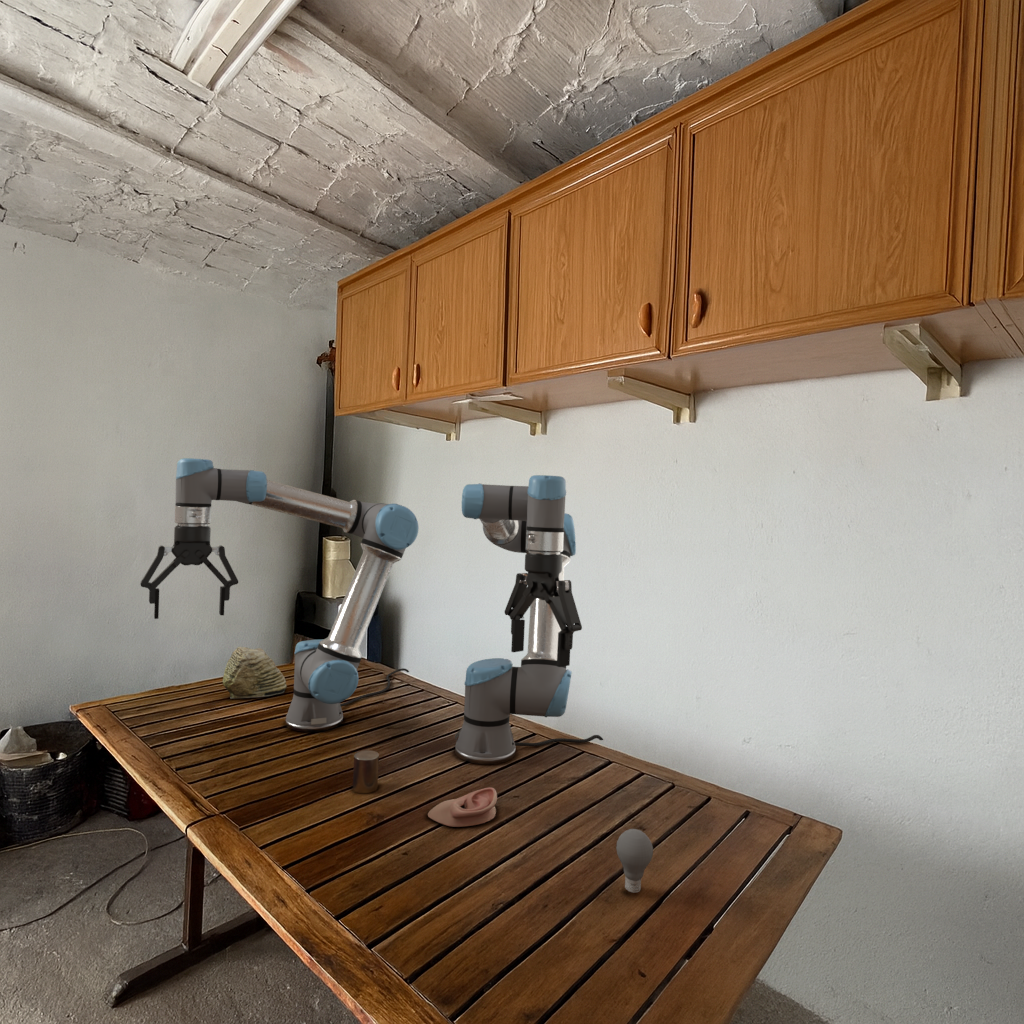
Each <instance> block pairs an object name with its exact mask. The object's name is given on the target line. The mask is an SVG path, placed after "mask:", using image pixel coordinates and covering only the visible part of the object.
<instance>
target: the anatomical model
mask: <svg viewBox="0 0 1024 1024" xmlns="http://www.w3.org/2000/svg"><path fill="white" fill-rule="evenodd" d="M497 800H498V793H497V790H496V789H495V788H494V787H485V788H480V789H477V790H473V791H472V792H469V793H467V794H465V795H463V796H460V797H458V798H454V799H447V800H444V801H442V802H440V803H438V804H437V805H435V806H434V807H432V808H431V809H430V810H429V811H428V813H427V816H428V818H429V819H430V820H432V821H435V822H437V823H439V824H441V825H443V826H447V827H450V828H453V827H454V828H460V827H462V828H463V827H471V826H476V825H482V824H485V823H487V822H489V821H491V820H493V819H494V818H495V817H496V814H497V809H496V804H497Z"/></svg>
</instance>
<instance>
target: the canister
mask: <svg viewBox="0 0 1024 1024" xmlns="http://www.w3.org/2000/svg"><path fill="white" fill-rule="evenodd" d="M379 761H380V753H378V752H377V751H376V750H371V749H369V750H368V749H365V750H360V751H357V752H356V753H354V755H353V775H352V777H353V778H352V791H354V792H356V793H358V794H371V793H372V792H375V791H377V789H378V787H379V786H378V785H379V763H380V762H379Z"/></svg>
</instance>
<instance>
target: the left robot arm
mask: <svg viewBox="0 0 1024 1024" xmlns="http://www.w3.org/2000/svg"><path fill="white" fill-rule="evenodd" d="M175 474H176V475H175V503H174V504H175V506H174V523H175V524H177V525H175V526H174V532H173V533H174V534H173V545H172V546H165V545H162V544H161V545H159V546H158V548H157V553H156V556H155V558H154V559H153V561H152V563H151V564H150V566H149V567H148V569H147V571H146V572H145V574H144V576H143V577H142V579H141V581H140V587H141V588H145V589H148V590H149V591H148V602H149V604H150V605H151V604H152V605H153V604H154V607H153V608H154V609H153V611H154V613H153V617H154V620H158V619H159V616H160V615H159V614H160V613H159V612H160V588H159V587H158V586H160V584H161V583H162V582H163V581H165V580H166V578H168V576H169V575H170V574H171V573H172V572H173V571H175V569H176V568H177V567H179V566H180V564H181V565H183V566H191V565H192V566H201V565H202V564H204V565H205V567H207V568H208V569H209V571H211V573H212V574H213V575H214V576H215V577H216V579H217V580H218V581H220V582H221V584H222V585H221V586H219V605H218V606H219V608H218V609H219V610H218V614H219V615H220V616H225V603H226V602H227V601H230V596H231V588H232V586H235V585H238V584H239V579H238V577H237V576H236V573H235V571H234V570H233V567H232V566H231V564H230V562H229V560H228V558H227V556H226V548H225V546H223V545H221V544H220V545H218V546H211V545H212V544H211V530H212V529H211V527H210V526H209V525H210V524H211V523H212V520H211V519H212V501H227V502H228V501H229V502H237V503H242V504H246V505H250V506H254V507H258V508H263V509H265V510H271V511H274V512H278V513H282V514H286V515H290V516H294V517H298V518H302V519H305V520H309V521H313V522H317V523H321V524H325V525H328V526H333V527H337V528H341V529H342V530H343V532H344V533H345V534H349V535H354V536H356V537H358V538H361V542H360V547H361V549H362V554H361V556H360V559H359V561H358V563H357V566H356V569H355V571H354V574H353V576H352V578H351V581H350V582H349V585H348V588H347V590H346V593H345V594H344V598H343V600H342V603H341V605H340V606H339V610H338V612H337V615H336V617H335V619H334V622H333V625H332V627H331V629H330V632H329V634H328V636H327V637H326V638H324V639H307V640H302V641H299V642H297V644H295V650H294V672H293V673H294V674H293V695H292V696H293V697H292V699H291V702H290V704H289V708H288V711H287V713H286V715H285V726H286V728H287V729H289V730H291V731H294V732H295V731H296V732H301V733H316V732H325V731H329V730H332V729H335V728H337V727H339V726H340V725H342V723H343V722H344V714H343V709H342V707H344V706H347V705H350V704H352V703H354V702H356V701H359V700H362V699H365V698H367V697H373V696H375V695H380V694H383V693H385V692H387V691H388V690H389V689H390V686H391V679H390V678H389V677H390V676H392V675H394V674H396V673H398V672H401V671H402V672H403V671H404V672H406V673H410V670H409V669H407V668H404V667H401V668H398V669H396V670H393V671H391V672H390V673H387V675H386V677H385V679H386V680H387V685H386V687H385V688H384V689H382V690H378V691H374V692H370V693H366V694H363V695H360V696H358V697H355V698H353V699H351V700H348V699H349V698H350V697H351V696H352V695H353V694H354V693H355V691H356V689H357V688H358V685H359V672H358V668H359V666H360V665H361V661H362V658H363V655H362V653H361V649H360V648H361V645H362V642H363V640H364V638H365V635H366V633H367V630H368V628H369V626H370V623H371V621H372V618H373V616H374V614H375V611H376V608H377V605H378V604H379V600H380V598H381V596H382V593H383V591H384V588H385V586H386V583H387V581H388V578H389V576H390V573H391V571H392V568H393V566H394V564H395V563H397V562H399V561H401V560H402V558H403V557H404V554H405V551H406V549H407V548H409V547H411V546H412V545H413V544H414V542H415V541H416V539H417V537H418V534H419V530H420V529H419V522H418V519H417V516H416V515H415V513H414V512H413V511H412V510H411V509H410V508H408V507H406V506H404V505H402V504H398V503H385V502H383V503H382V502H367V501H361V500H357V499H352V500H350V501H347V500H344V499H340V498H336V497H333V496H329V495H325V494H322V493H318V492H314V491H311V490H308V489H304V488H300V487H295V486H292V485H288V484H285V483H282V482H278V481H274V480H269V479H268V478H267V474H266V473H265V472H264V471H262V470H261V471H259V470H254V469H250V470H249V469H227V468H216V467H215V466H214V462H213V460H211V459H205V458H190V457H189V458H188V457H183V458H180V459H179V460H178V461H177V464H176V473H175ZM169 553H172V554H173V556H174V559H173V560H172V561H171V562H170V563H169V564H168V565H167V566H166V567H165V568H164V569H163V571H161V572H160V573H159V574H158V575H157V576H156V577H155V578H154V579H153V580H152V581H151V579H152V577H153V576H154V574H155V572H156V571H157V569H158V567H159V566H160V564H161V562H162V561H163V559H164V557H166V556H168V555H169ZM212 553H214V554H215V555H216V556H218V557H219V560H220V562H221V564H222V565H223V567H224V569H225V571H226V574H227V575H228V577H229V580H228V579H226V577H225V576H224V575H223V574H222V573H221V572H220V571H219V569H218V568H217V567H216V566H215V565H214V564H213V563H212V562H211V561H210V560H209V559H208V558H209V556H210V555H211V554H212ZM150 581H151V582H150ZM225 601H226V602H225ZM347 700H348V701H347ZM344 701H346V702H344ZM342 702H343V703H342Z"/></svg>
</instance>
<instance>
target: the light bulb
mask: <svg viewBox="0 0 1024 1024" xmlns="http://www.w3.org/2000/svg"><path fill="white" fill-rule="evenodd" d="M615 849H616V854H617V857H618V859H619V861H620V863H621V865H622V867H623V873H624V874H623V875H624V876H625V878H624V888H625V890H627V891H628V892H630V893H634V894H635V893H639V892H640V891H641V889H642V887H641V886H642V879H643V877H644V875H645V871H646V868H647V867H648V866H649V864H650V863H651V861H652V859H653V855H654V847H653V843H652V841H651V838H649V836H648V835H647V834H646V833H645V832H643V831H642V830H641V829H636V828H629V829H627V830H625V831H623V832H622V833H621V834H620V835H619V837H618V839H617V841H616V847H615Z"/></svg>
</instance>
